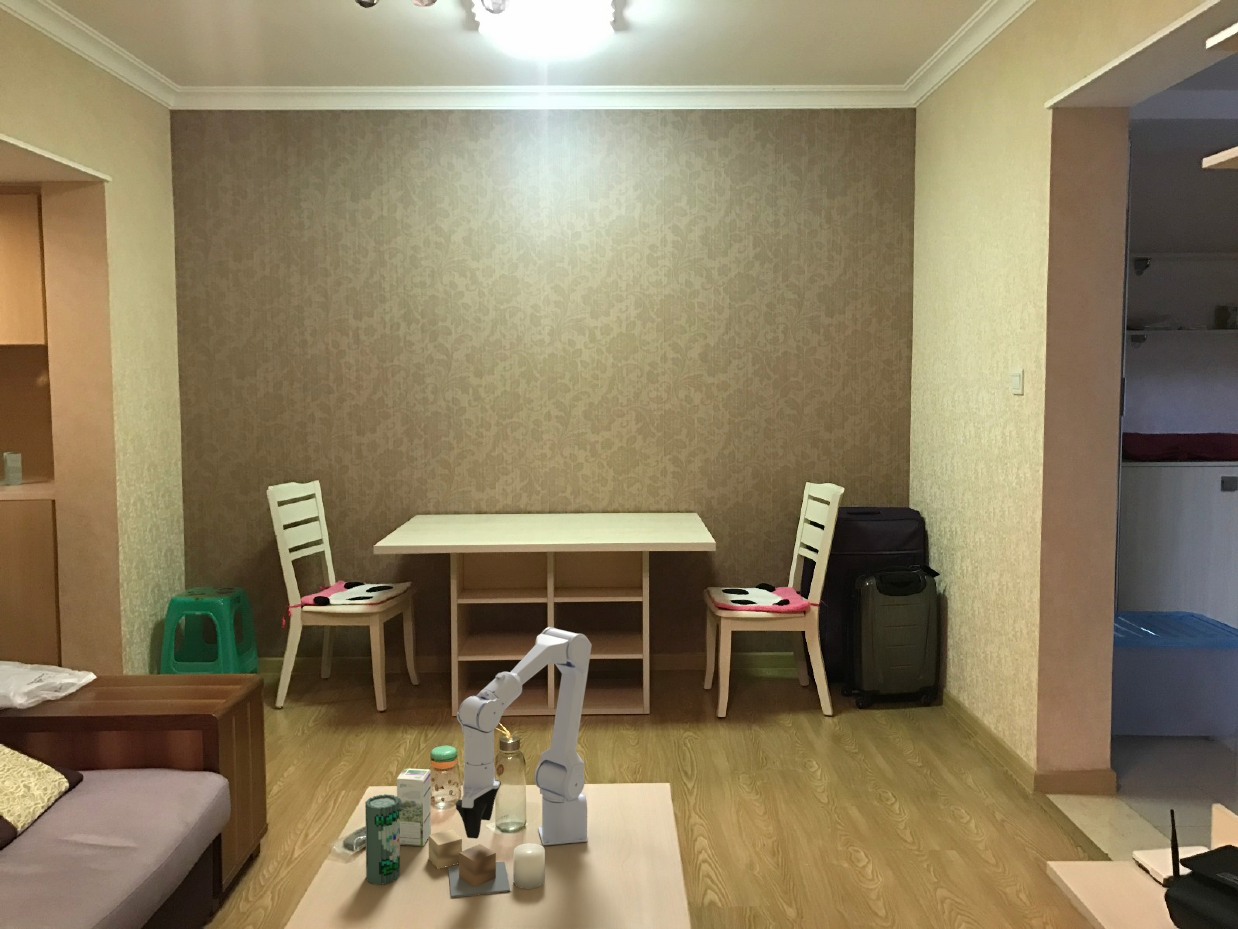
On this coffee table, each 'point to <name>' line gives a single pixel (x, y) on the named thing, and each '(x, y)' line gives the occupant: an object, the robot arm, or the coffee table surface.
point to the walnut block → (477, 865)
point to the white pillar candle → (529, 865)
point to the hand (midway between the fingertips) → (479, 828)
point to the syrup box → (414, 806)
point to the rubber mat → (493, 886)
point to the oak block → (444, 848)
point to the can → (382, 839)
